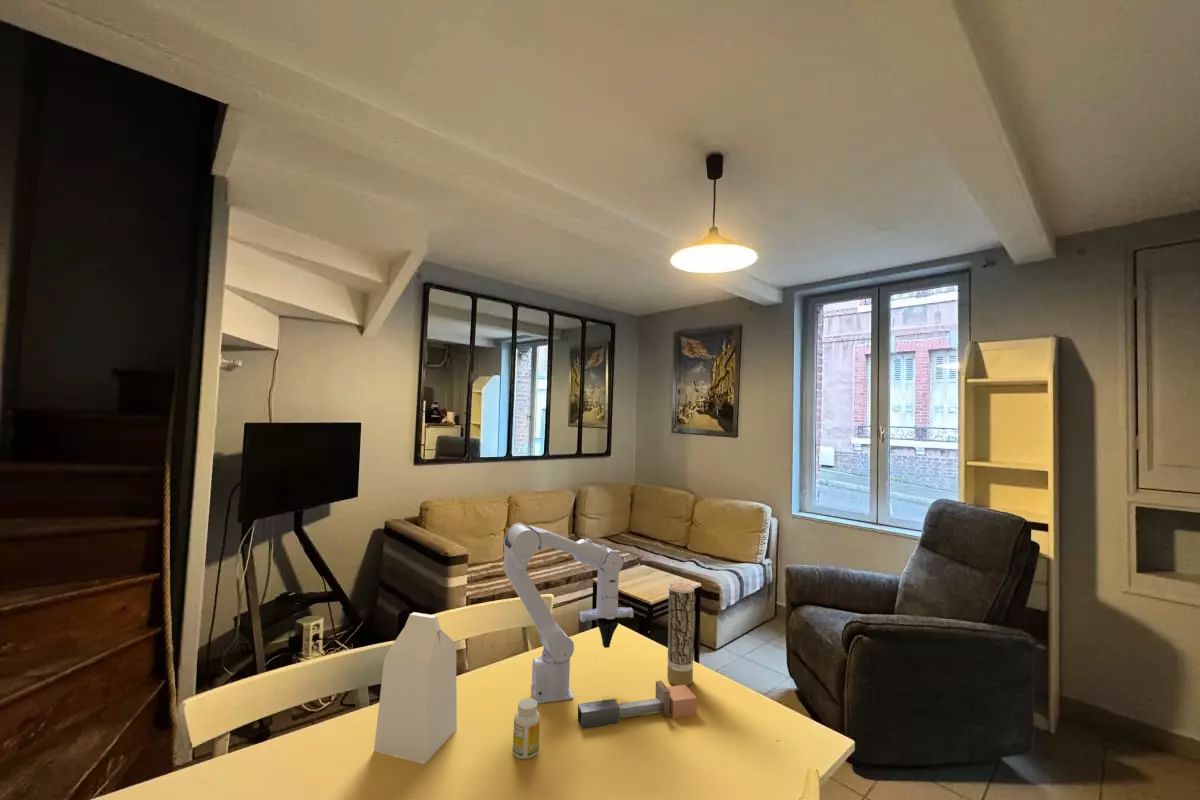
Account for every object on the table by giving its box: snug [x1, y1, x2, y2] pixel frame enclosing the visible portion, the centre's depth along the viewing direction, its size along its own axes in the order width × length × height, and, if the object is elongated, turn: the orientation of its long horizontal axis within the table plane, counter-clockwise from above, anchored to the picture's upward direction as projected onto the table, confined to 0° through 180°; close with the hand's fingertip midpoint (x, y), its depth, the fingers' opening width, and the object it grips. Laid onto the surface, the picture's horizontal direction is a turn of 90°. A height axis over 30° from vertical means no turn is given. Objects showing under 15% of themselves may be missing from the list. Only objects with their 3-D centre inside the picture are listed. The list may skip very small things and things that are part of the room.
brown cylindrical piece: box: [666, 582, 695, 687], centre depth 129 cm, size 7×7×25 cm
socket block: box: [666, 685, 698, 720], centre depth 115 cm, size 6×6×4 cm
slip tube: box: [618, 680, 671, 719], centre depth 112 cm, size 19×5×6 cm, turn 106°
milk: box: [373, 611, 458, 765], centre depth 102 cm, size 12×12×26 cm
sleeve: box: [577, 698, 621, 730], centre depth 110 cm, size 9×4×4 cm, turn 106°
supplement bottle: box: [512, 697, 541, 760], centre depth 99 cm, size 5×5×10 cm
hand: (606, 646), depth 127 cm, fingers closed
